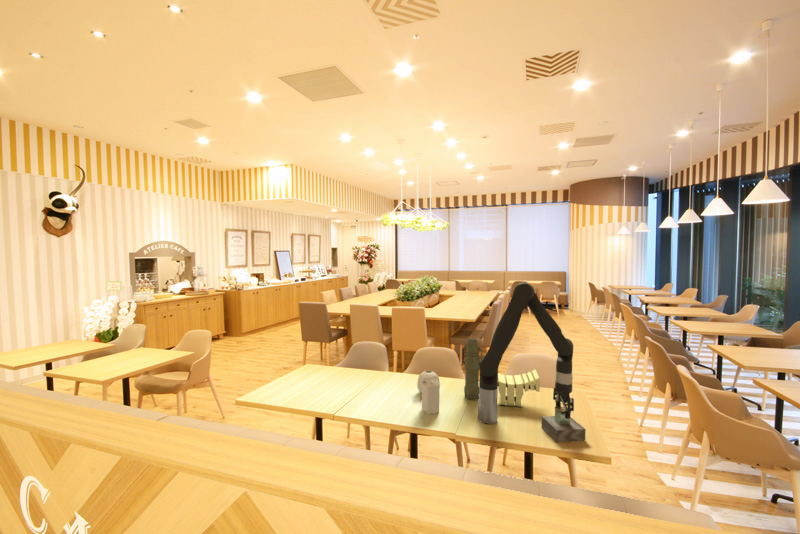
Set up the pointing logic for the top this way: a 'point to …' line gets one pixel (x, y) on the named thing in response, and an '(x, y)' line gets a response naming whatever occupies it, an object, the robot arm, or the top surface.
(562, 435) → the charcoal box
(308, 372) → the top surface
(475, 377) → the dark green pillar
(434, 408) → the milk carton
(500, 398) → the slatted curved stool
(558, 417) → the tea tin
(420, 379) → the vase
